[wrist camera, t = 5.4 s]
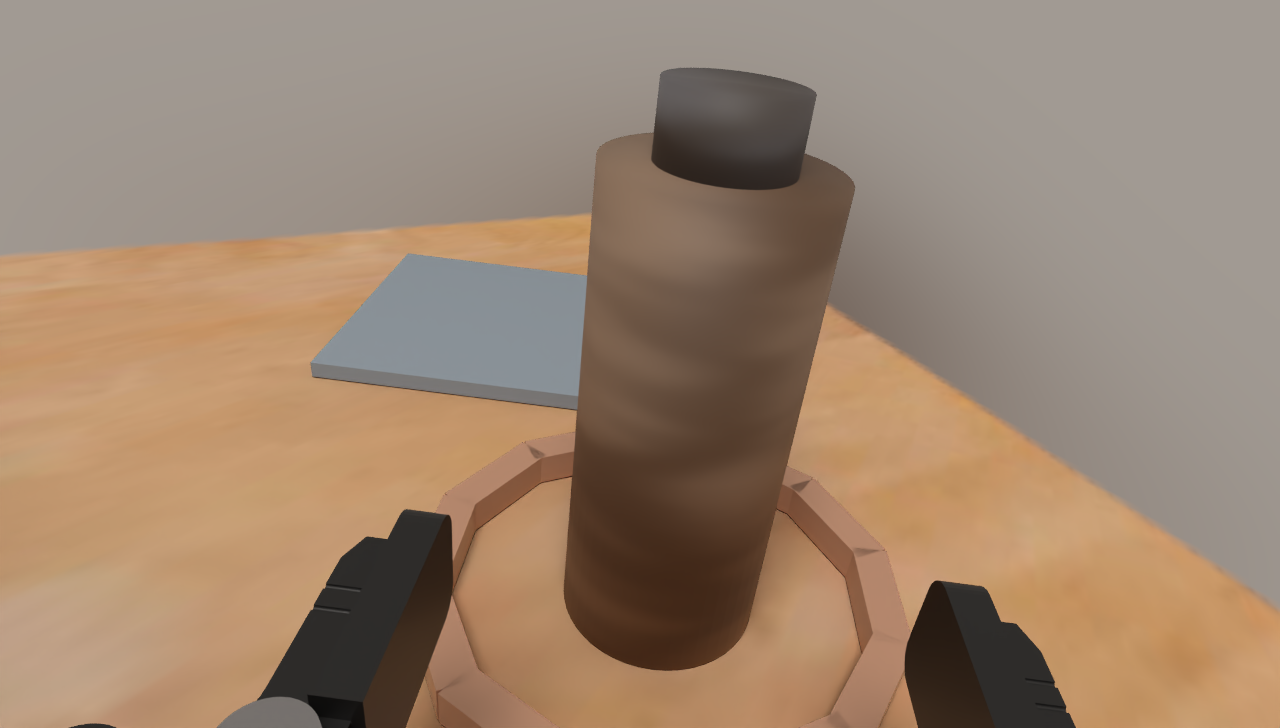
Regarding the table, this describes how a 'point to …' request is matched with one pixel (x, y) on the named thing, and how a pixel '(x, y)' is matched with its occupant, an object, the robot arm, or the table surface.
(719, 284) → the pepper mill
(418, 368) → the mat
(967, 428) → the table surface
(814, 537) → the pinkish tan segmented ring
